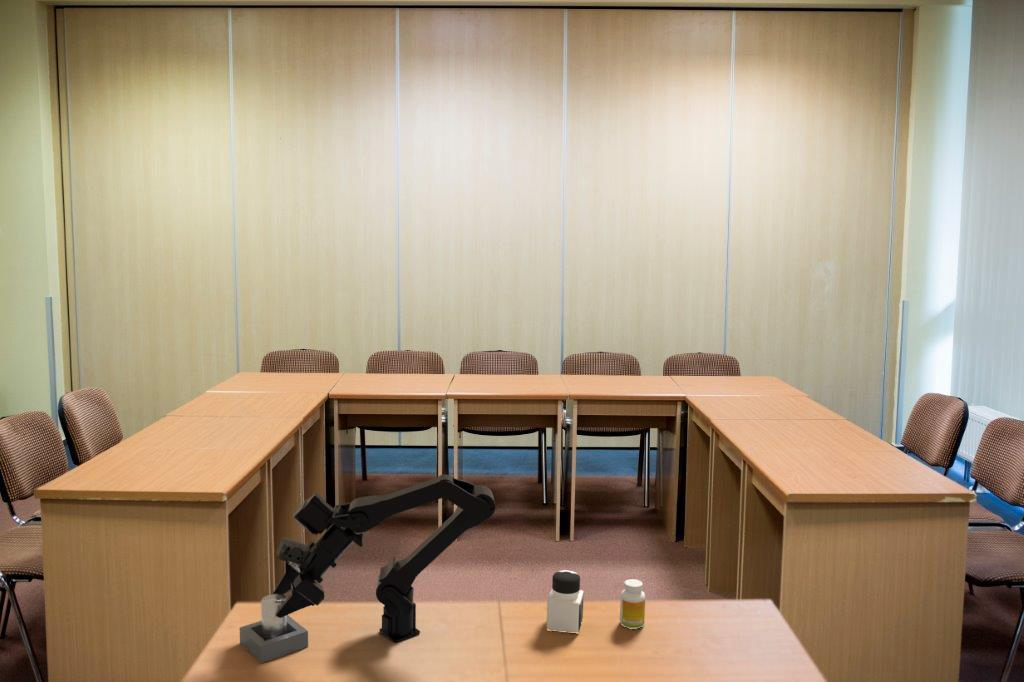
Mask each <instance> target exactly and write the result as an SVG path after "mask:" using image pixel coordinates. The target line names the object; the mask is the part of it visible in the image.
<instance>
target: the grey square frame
mask: <svg viewBox="0 0 1024 682" xmlns="http://www.w3.org/2000/svg"><path fill="white" fill-rule="evenodd" d="M239 644H240V645H241V646H242V647H243V648H244V649H245V648H246V649H245V650H247V651H248V652H249V654H250V655H252V656H253V657H254V658H255V659H256V660H257V661H258V662H259V663H260V664H263V663H265V662H269V661H271V660H274V659H277V658H280V657H284V656H287V655H290V654H292V653H295V652H298V651H300V649H301V650H303V648H304V649H306V648H305V647H307V648H308V647H309V631H308V629H306V628H305V627H304V626H302V625H300V624H299V622H297V621H296V620H295V619H293V617H291V616H290V615H287V634H285V635H282V636H279V637H276V638H273V639H270V640H267V641H264V640H263V639H262V620H259V621H257V622H253V623H250V624H245V625H242V626H240V627H239ZM297 650H298V651H297ZM286 654H287V655H286Z"/></svg>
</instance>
